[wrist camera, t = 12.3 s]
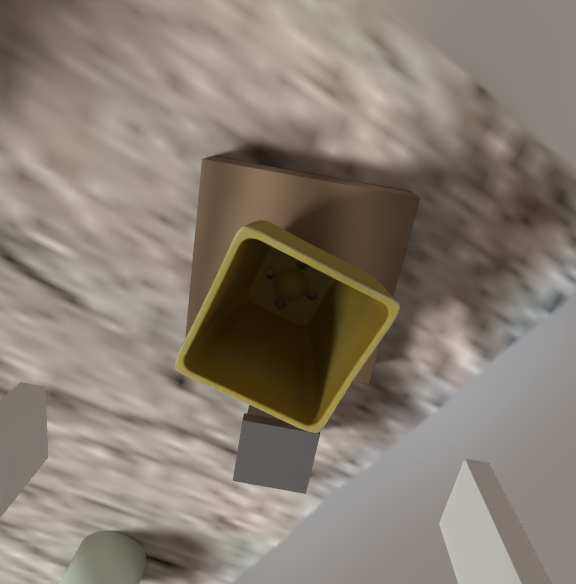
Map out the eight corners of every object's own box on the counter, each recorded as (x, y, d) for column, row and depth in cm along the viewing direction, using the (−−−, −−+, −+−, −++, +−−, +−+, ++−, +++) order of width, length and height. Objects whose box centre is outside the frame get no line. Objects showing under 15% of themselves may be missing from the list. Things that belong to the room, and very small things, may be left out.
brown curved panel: (194, 334, 36) (184, 351, 33) (212, 156, 31) (202, 159, 28) (367, 364, 36) (371, 384, 33) (413, 191, 31) (422, 198, 28)
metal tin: (246, 422, 39) (232, 480, 32) (255, 369, 37) (242, 420, 30) (307, 433, 39) (305, 493, 32) (319, 380, 37) (320, 434, 30)
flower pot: (262, 193, 29) (240, 222, 20) (379, 255, 30) (405, 306, 21) (208, 304, 31) (170, 369, 23) (316, 357, 32) (317, 438, 24)
